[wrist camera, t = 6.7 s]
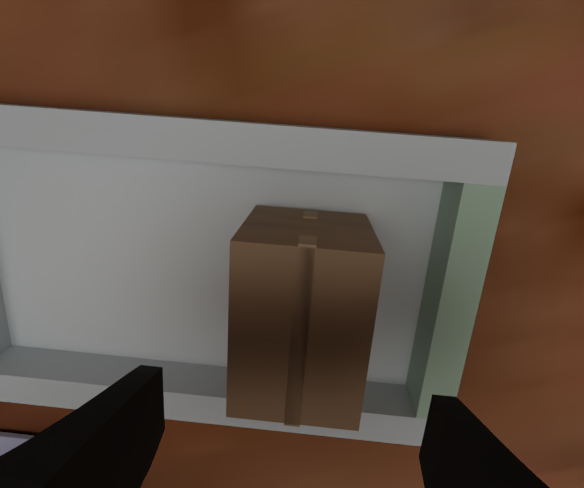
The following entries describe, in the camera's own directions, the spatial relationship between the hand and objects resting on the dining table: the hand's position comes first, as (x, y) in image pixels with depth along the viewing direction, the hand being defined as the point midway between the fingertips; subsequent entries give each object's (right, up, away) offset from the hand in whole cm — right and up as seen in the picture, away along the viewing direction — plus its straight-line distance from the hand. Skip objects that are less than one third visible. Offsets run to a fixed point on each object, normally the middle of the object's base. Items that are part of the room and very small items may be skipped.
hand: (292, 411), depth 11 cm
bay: (-4, +3, +9) cm, 11 cm away
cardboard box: (+1, +3, +8) cm, 9 cm away
